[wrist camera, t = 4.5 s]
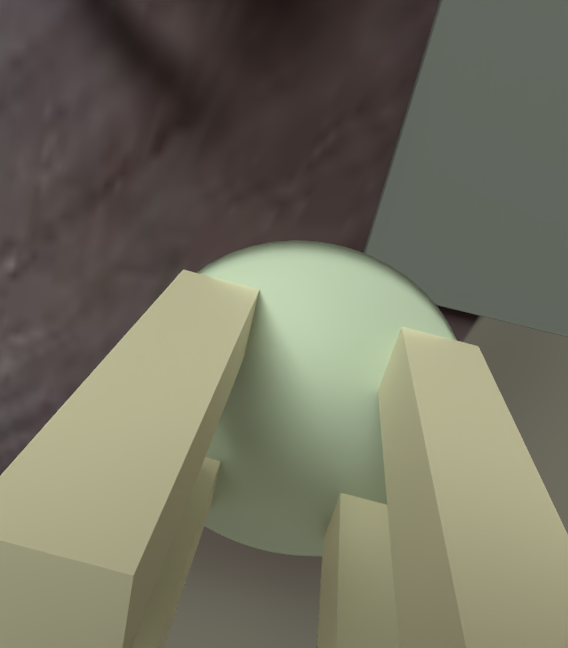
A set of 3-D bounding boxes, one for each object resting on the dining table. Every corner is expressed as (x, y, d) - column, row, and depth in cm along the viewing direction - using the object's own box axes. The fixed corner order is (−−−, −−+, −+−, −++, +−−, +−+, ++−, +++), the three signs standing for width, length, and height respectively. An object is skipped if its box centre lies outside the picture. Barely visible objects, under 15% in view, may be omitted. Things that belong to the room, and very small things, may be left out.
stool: (130, 474, 13) (-85, 859, 7) (166, 200, 10) (-164, 416, 4) (403, 546, 13) (454, 1005, 7) (521, 292, 10) (828, 677, 4)
